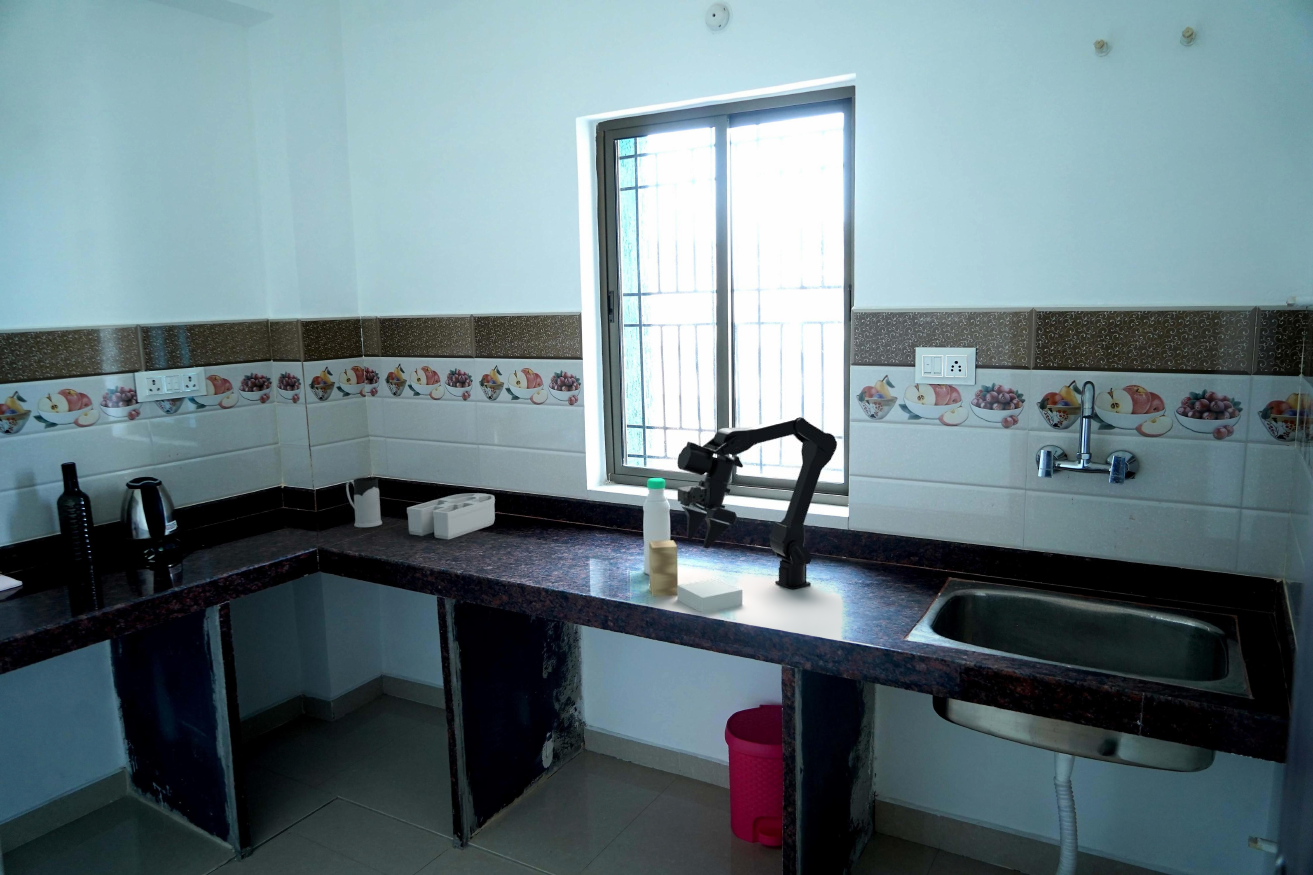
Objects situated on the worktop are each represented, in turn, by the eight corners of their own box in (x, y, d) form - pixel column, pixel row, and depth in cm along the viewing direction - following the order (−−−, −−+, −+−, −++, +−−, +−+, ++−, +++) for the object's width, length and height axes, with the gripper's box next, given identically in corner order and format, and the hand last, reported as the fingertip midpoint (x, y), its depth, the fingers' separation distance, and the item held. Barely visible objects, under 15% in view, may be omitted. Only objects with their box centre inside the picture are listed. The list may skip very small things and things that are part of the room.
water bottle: (672, 575, 228) (672, 480, 225) (646, 577, 227) (644, 482, 224) (668, 567, 235) (667, 476, 232) (642, 569, 234) (640, 477, 231)
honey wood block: (673, 587, 219) (673, 540, 217) (677, 594, 213) (677, 546, 211) (649, 588, 218) (649, 541, 216) (653, 596, 212) (652, 547, 210)
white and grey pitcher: (366, 528, 283) (363, 482, 281) (337, 523, 291) (335, 478, 289) (387, 522, 290) (385, 478, 288) (359, 517, 298) (357, 474, 296)
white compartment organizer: (407, 534, 275) (406, 507, 274) (466, 516, 300) (465, 491, 298) (448, 540, 267) (447, 513, 266) (505, 521, 292) (505, 495, 291)
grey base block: (715, 593, 215) (715, 577, 214) (742, 606, 205) (742, 589, 205) (677, 601, 209) (677, 585, 208) (702, 614, 200) (702, 597, 199)
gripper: (671, 465, 213) (652, 527, 213) (705, 478, 196) (684, 545, 196) (710, 477, 218) (691, 537, 218) (746, 490, 201) (726, 555, 201)
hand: (697, 543), depth 208 cm, fingers open, 9 cm apart
